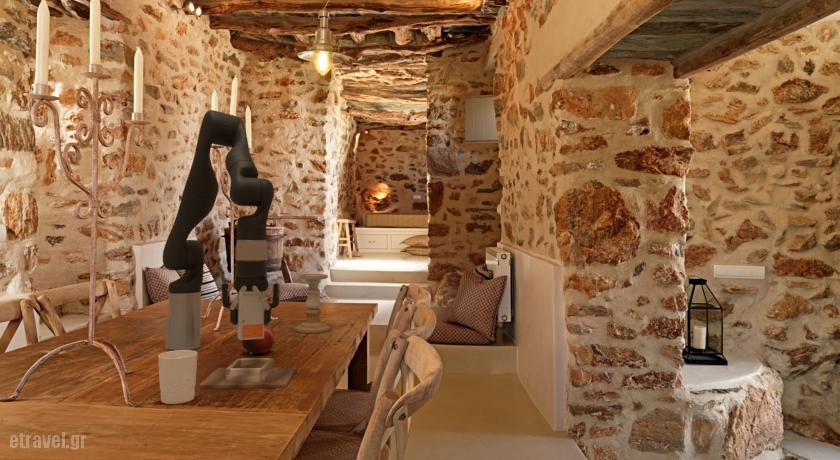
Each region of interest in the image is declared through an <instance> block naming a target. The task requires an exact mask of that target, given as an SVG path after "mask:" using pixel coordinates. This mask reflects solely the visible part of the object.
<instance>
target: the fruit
mask: <svg viewBox="0 0 840 460" xmlns="http://www.w3.org/2000/svg"><path fill="white" fill-rule="evenodd" d="M241 343H242V347H243V348H244V349H245V350H246V351H248V352H249V354H250V356H253V355H258V354H260V355H261V354H264V355H265V354H267V353H268V352H270V350H271V349H272V348H273V346H274V343H275V337H274V335H273V332H272V330H271V329H269V328H267V326H266V325H264V339H251V340H241Z"/></svg>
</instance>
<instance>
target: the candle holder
mask: <svg viewBox="0 0 840 460" xmlns="http://www.w3.org/2000/svg"><path fill="white" fill-rule="evenodd" d="M298 278H299V279H301V280H305V281H306V284H307V285H308V288H307V289H306V291H305V292H306V293H307V297H306V300H305V307H306V308H307V309H305V311H304V313H305V314H306V319H305V320H306V321H304V322H300V324H298V325H297V326H296V327H295V332H297V333H301V334H323V333H327V332H329V331H331V326H330V325H329V324H326V323H325V322H323V321H320V320H321V319H320V315H321V313H322V310H321V309H320V307H321V306H322V305H321V304H322V303H321V300H320V295H319V294H320V292H321V290H320V288H319V284H320V283H321V281H322V280H325V279H328V278H329V275H328V274H325V273H305V274H298Z"/></svg>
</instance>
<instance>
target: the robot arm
mask: <svg viewBox="0 0 840 460" xmlns="http://www.w3.org/2000/svg"><path fill="white" fill-rule="evenodd" d="M247 136H248V135H247V131H246V126H245V123H244V121H243V119H242V118H241V117H239V116H237V115H233V114H230V113H226V112H223V111H218V110H215V109H214V110H213V109H209V110H207V111H206V112H205V114H204V115H203V117H202V120H201V123H200V128H199V132H198V137H197V142H196V147H195V151H194V156H193V161H192V163H191V167H190V169H189V173H188V176H187V178H186V181H185V185H184V188H183V191H182V194H181V195H182V196H181V198H180V199H181V200H180V202H179V205H178V206H179V207H178V209H177V213H176V216H175V220H174V222H173V224H172V227H171V229H170V232H169V234H168V237H167V239H166V241H165V244H164V247H163V250H162V263H163V266H164V268H165V269H166V270H169V271H184V272H183V274H182V275H181V277H179V278H178V279H176V280H173V281H171V282H170V283H169V285H168V316H167V317H166V318H165V350H170V351H176V350H194V349H198V348H201V341H202V339H201V335H202V334H201V333H202V331H201V329H202V326H201V325H202V323H201V322H202V321H201V319H202V316H201V315H202V309H201V308H202V284H203V281H204V280H203V279H204V263H205V251H204V246H203V243H202V242H200V241H199V240H196V239H188V238H189V236H190V234H191V233H192V232H193V230H194V229H195V228H196V227H197V226H198V225H199V224H200V223H201V222H202V221H203V220H205V218H206V217H207V216H208V215H209V214H211V212H212V210H213V208H214V207H215V204H216V199H217V198H218V197H217V196H218V193H219V190H220V187H219V183H218V178H217V175H216V173H215V171H214V168H213V164H212V161H211V149H212V146H213V145H217V146H222V147H227V148H230V150H229V151H228V152H227V154H226V156H225V169H226V170H227V173H228V175H229V179H230V186H229V187H230V188H229V198H230V201H231V202H232V203H233V204H234V205H236V206H240V207H256V208H255V211H254V212H253V213H252V214H247V215H243V216H239V217H238V219H237V222H236V243H235V244H236V245H235V272H234V273H235V279H234V282H228V281H226V282H223V283H222V284H221V301H222V302H221V305H222V307H223V308H225V309H229V313H230V314H229V315H230V319H229V320H230V323H231V324H232V326H237V306H238V303H239V294H240V291H254V293H255V294H256V295H257V297H258V299H259V300H260V302H261V303H262V304H263V306H264V307H265V310H264V325H265V326H268V325H269V323H271V322H272V309H274V308H275V309H276V308H277V307H278V306H279V304H280V291H281V289H280V287H281V284H280V283H279V282H269V281H268V257H269V255H268V247H267V246H268V245H267V222H268V218H269V213H270V209H271V206H272V203H273V200H274V196H275V188H274V185H273V183H272V182H271V181H270V179H268V178H262V177H259V170H258V169H257V167H256V164H255V161H254V160H253V158H252V156H251V153H250V146H249V142H248V141H249V140H248V137H247ZM233 288H234V290H235V291H236V292H237V294H236V296H235V298H234V299H233V300H232V302H231V296H230V295H231V293H230V292H231V291H232V290H233ZM268 288H269V289H270V291H271V292H272V302H270V300H269V298H268V296H267V294H266V293H265V297H264V296H263V295H262V293H261V292H264V291H265V292H266V291H267V290H268Z"/></svg>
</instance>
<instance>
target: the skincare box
mask: <svg viewBox="0 0 840 460" xmlns="http://www.w3.org/2000/svg"><path fill="white" fill-rule="evenodd" d="M261 293H262V295H263V296H264V297H265V294H266V291H264V292H261ZM264 310H265V307H264V306H263V304H262V303H261V302H260V300H259V299H258V297H257V295H256V294H255V293H254V291H240V294H239V303H238V306H237V325H236V326H237V327H236V338H237V339H238V340H239V341H242V340H251V339H264Z"/></svg>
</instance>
